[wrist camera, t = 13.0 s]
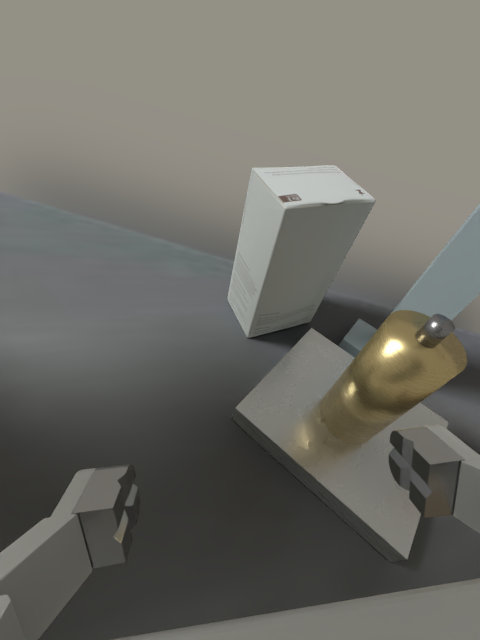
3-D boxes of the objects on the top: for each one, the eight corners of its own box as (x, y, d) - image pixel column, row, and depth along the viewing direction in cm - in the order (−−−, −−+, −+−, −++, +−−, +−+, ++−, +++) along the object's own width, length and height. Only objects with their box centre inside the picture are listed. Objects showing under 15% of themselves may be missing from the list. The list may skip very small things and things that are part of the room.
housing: (309, 415, 24) (388, 319, 15) (335, 379, 26) (414, 281, 18) (361, 457, 22) (481, 376, 14) (383, 415, 25) (493, 325, 16)
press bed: (231, 418, 24) (235, 407, 23) (304, 340, 32) (311, 327, 30) (389, 561, 20) (407, 559, 18) (433, 431, 27) (448, 422, 25)
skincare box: (286, 289, 36) (336, 162, 26) (312, 326, 33) (383, 197, 22) (222, 301, 33) (249, 160, 22) (244, 343, 30) (289, 201, 19)
